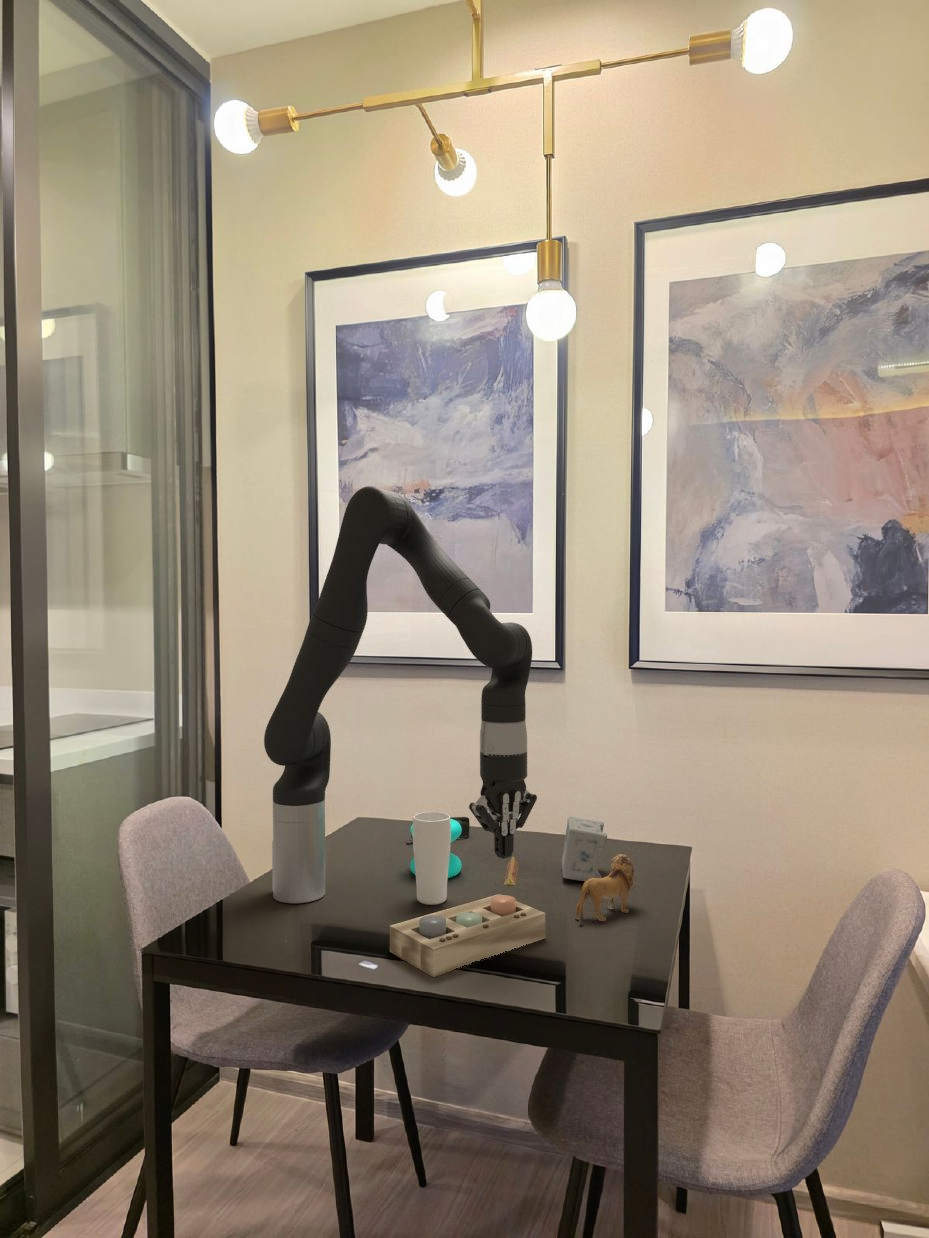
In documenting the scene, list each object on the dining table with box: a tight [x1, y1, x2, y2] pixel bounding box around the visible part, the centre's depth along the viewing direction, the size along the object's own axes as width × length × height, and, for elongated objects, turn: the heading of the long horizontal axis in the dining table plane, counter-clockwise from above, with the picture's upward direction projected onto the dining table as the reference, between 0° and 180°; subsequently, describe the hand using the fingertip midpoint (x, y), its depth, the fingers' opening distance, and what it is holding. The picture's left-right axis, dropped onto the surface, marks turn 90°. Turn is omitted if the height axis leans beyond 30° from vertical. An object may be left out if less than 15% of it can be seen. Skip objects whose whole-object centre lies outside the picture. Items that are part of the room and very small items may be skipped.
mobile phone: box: [405, 816, 471, 845], centre depth 188 cm, size 5×3×15 cm
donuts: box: [409, 819, 463, 879], centre depth 166 cm, size 10×10×10 cm
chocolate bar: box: [503, 855, 519, 886], centre depth 165 cm, size 3×12×2 cm, turn 174°
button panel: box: [389, 893, 546, 978], centre depth 131 cm, size 11×22×4 cm, turn 129°
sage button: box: [456, 912, 482, 928], centre depth 131 cm, size 4×4×3 cm
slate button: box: [419, 915, 446, 939], centre depth 127 cm, size 4×4×3 cm
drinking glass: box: [412, 811, 452, 906], centre depth 151 cm, size 7×7×15 cm
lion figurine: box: [574, 853, 635, 924], centre depth 144 cm, size 15×5×9 cm, turn 138°
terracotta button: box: [491, 894, 517, 917], centre depth 136 cm, size 4×4×3 cm
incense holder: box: [560, 816, 608, 882], centre depth 164 cm, size 10×8×10 cm
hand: (503, 856), depth 136 cm, fingers closed
